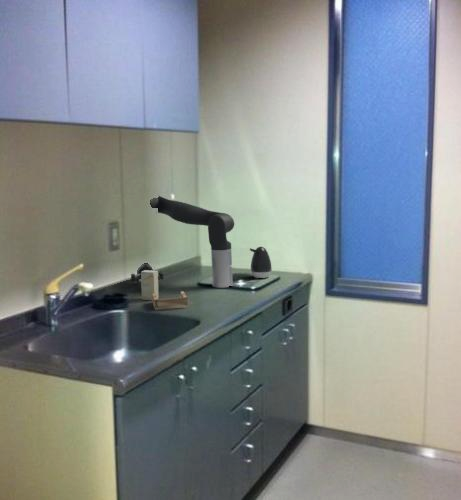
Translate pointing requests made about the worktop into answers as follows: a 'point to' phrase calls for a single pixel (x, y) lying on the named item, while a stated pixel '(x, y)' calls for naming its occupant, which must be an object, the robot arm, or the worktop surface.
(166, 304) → the brown wooden tray
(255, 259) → the pump dispenser
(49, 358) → the worktop surface
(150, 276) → the skincare box
